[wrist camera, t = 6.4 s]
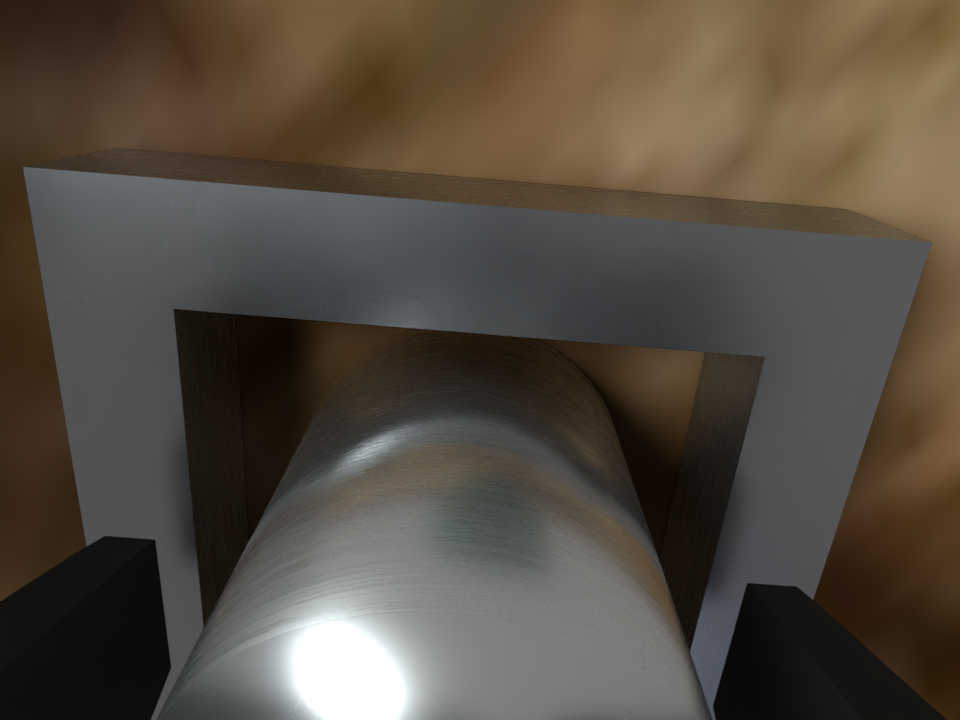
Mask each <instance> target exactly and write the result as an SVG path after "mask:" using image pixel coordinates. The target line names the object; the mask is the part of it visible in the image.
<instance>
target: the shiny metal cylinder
mask: <svg viewBox="0 0 960 720" xmlns="http://www.w3.org/2000/svg"><path fill="white" fill-rule="evenodd" d="M156 720H713V719H712V716H711V713H710V710H709V707H708V704H707V701H706V698H705V695H704V692H703V689H702V686H701V683H700V680H699V677H698V674H697V671H696V668H695V665H694V662H693V659H692V657H691V654H690V651H689V648H688V645H687V642H686V639H685V636H684V633H683V630H682V627H681V624H680V621H679V618H678V615H677V612H676V609H675V606H674V603H673V600H672V597H671V594H670V591H669V588H668V585H667V582H666V579H665V576H664V573H663V570H662V567H661V564H660V561H659V558H658V555H657V553H656V550H655V547H654V544H653V541H652V538H651V535H650V532H649V529H648V526H647V523H646V520H645V517H644V514H643V511H642V508H641V505H640V502H639V499H638V496H637V493H636V490H635V487H634V484H633V481H632V478H631V475H630V472H629V469H628V466H627V463H626V460H625V457H624V454H623V451H622V448H621V446H620V443H619V440H618V437H617V434H616V431H615V428H614V425H613V422H612V419H611V416H610V413H609V411H608V409H607V407H606V405H605V403H604V401H603V399H602V397H601V395H600V394H599V392H598V391H597V390H596V388H595V387H594V385H593V384H592V383H591V381H590V380H589V379H588V378H587V377H586V376H585V375H584V374H583V372H582V371H581V370H580V369H579V368H578V367H577V366H576V365H575V364H573V363H572V362H571V361H570V360H568V359H567V358H566V357H565V356H563V355H562V354H561V353H560V352H558V351H556V350H555V349H553V348H551V347H550V346H548V345H547V344H545V343H543V342H542V341H539V340H537V339H535V338H528V337H515V336H503V335H490V334H478V333H466V332H453V331H441V330H429V329H416V328H414V329H411V330H409V331H406V332H403V333H400V334H397V335H394V336H392V337H390V338H388V339H386V340H384V341H382V342H380V343H378V344H376V345H375V346H373V347H372V348H370V349H369V350H367V351H366V352H364V353H363V354H362V355H360V356H359V357H357V358H356V359H355V360H354V361H353V362H352V363H351V364H350V365H349V366H348V367H347V368H345V369H344V370H343V372H342V373H341V374H340V375H339V377H338V378H337V379H336V380H335V381H334V383H333V384H332V385H331V387H330V389H329V390H328V392H327V394H326V395H325V397H324V399H323V400H322V402H321V404H320V406H319V408H318V410H317V412H316V414H315V415H314V417H313V419H312V421H311V423H310V425H309V427H308V429H307V431H306V433H305V435H304V437H303V439H302V440H301V442H300V444H299V446H298V448H297V450H296V452H295V454H294V456H293V458H292V460H291V462H290V463H289V465H288V467H287V469H286V471H285V473H284V475H283V477H282V479H281V481H280V483H279V485H278V487H277V488H276V490H275V492H274V494H273V496H272V498H271V500H270V502H269V504H268V506H267V508H266V510H265V511H264V513H263V515H262V517H261V519H260V521H259V523H258V525H257V527H256V529H255V531H254V533H253V535H252V536H251V538H250V540H249V542H248V544H247V546H246V548H245V550H244V552H243V554H242V556H241V558H240V559H239V561H238V563H237V565H236V567H235V569H234V571H233V573H232V575H231V577H230V579H229V581H228V583H227V584H226V586H225V588H224V590H223V592H222V594H221V596H220V598H219V600H218V602H217V604H216V606H215V607H214V609H213V611H212V613H211V615H210V617H209V619H208V621H207V623H206V625H205V627H204V629H203V631H202V632H201V634H200V636H199V638H198V640H197V642H196V644H195V646H194V648H193V650H192V652H191V654H190V655H189V657H188V659H187V661H186V663H185V665H184V667H183V669H182V671H181V673H180V675H179V677H178V679H177V680H176V682H175V684H174V686H173V688H172V690H171V692H170V694H169V696H168V698H167V700H166V702H165V703H164V705H163V707H162V709H161V711H160V713H159V715H158V717H157V719H156Z"/></svg>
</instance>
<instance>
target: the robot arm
mask: <svg viewBox="0 0 960 720" xmlns="http://www.w3.org/2000/svg"><path fill="white" fill-rule="evenodd" d="M170 670H171V661H170V653H169V645H168V637H167V629H166V621H165V613H164V605H163V597H162V589H161V581H160V573H159V565H158V557H157V549H156V541H155V539H141V538H128V537H114V536H104V537H102V538H100V539H99V540H97V541H95V542H94V543H92V544H90V545H88V546H87V547H85V548H83V549H82V550H80V551H79V552H77V553H75V554H74V555H72V556H71V557H69V558H67V559H66V560H64V561H63V562H61V563H60V564H58V565H56V566H55V567H53V568H52V569H50V570H49V571H47V572H46V573H44V574H42V575H41V576H39V577H38V578H36V579H35V580H33V581H32V582H30V583H29V584H27V585H25V586H24V587H22V588H21V589H19V590H18V591H16V592H15V593H13V594H12V595H10V596H9V597H7V598H5V599H4V600H2V601H1V602H0V720H151V718H152V716H153V713H154V711H155V708H156V706H157V703H158V700H159V698H160V695H161V693H162V690H163V688H164V685H165V683H166V680H167V677H168V675H169V672H170ZM713 709H714V714H715V719H716V720H946V719H945V718H944V717H943V716H942V715H941V714H940V713H939V712H937V711H936V710H935V709H934V708H933V707H932V706H931V705H929V704H928V703H927V702H926V701H925V700H924V699H923V698H922V697H920V696H919V695H918V694H917V693H916V692H915V691H914V690H913V689H912V688H910V687H909V686H908V685H907V684H906V683H905V682H904V681H903V680H902V679H900V678H899V677H898V676H897V675H896V674H895V673H894V672H893V671H892V670H890V669H889V668H888V667H887V666H886V665H885V664H884V663H883V662H882V661H881V660H879V659H878V658H877V657H876V656H875V655H874V654H873V653H872V652H871V651H869V650H868V649H867V648H866V647H865V646H864V645H863V644H862V643H861V642H860V641H858V640H857V639H856V638H855V637H854V636H853V635H852V634H851V633H850V632H849V631H847V630H846V629H845V628H844V627H843V626H842V625H841V624H840V623H839V622H837V621H836V620H835V619H834V618H833V617H832V616H831V615H830V614H828V613H827V612H826V611H825V610H824V609H823V608H822V607H821V606H819V605H818V604H817V603H816V602H815V601H814V600H812V599H811V598H810V597H809V596H808V595H806V594H805V593H804V592H803V591H802V590H800V589H799V588H798V587H796V586H782V585H769V584H755V583H747V585H746V589H745V592H744V596H743V600H742V603H741V607H740V610H739V614H738V618H737V621H736V625H735V628H734V632H733V635H732V639H731V643H730V646H729V650H728V653H727V657H726V661H725V664H724V668H723V671H722V675H721V679H720V682H719V686H718V689H717V693H716V697H715V700H714V704H713Z"/></svg>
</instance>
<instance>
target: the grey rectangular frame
mask: <svg viewBox="0 0 960 720" xmlns="http://www.w3.org/2000/svg"><path fill="white" fill-rule="evenodd" d="M23 171H24V177H25V183H26V189H27V195H28V201H29V207H30V212H31V218H32V224H33V230H34V236H35V242H36V248H37V254H38V260H39V266H40V272H41V278H42V284H43V290H44V296H45V302H46V308H47V314H48V320H49V326H50V332H51V338H52V344H53V350H54V356H55V362H56V367H57V373H58V379H59V385H60V391H61V397H62V403H63V409H64V415H65V421H66V427H67V433H68V439H69V445H70V451H71V457H72V463H73V469H74V475H75V481H76V487H77V493H78V499H79V505H80V511H81V516H82V522H83V528H84V534H85V540H86V546H88V545H90V544H92V543H94V542H95V541H97V540H99V539H100V538H102V537H104V536H114V537H128V538H141V539H155V541H156V549H157V557H158V565H159V573H160V581H161V589H162V597H163V605H164V613H165V621H166V629H167V637H168V645H169V653H170V661H171V670H170V672H169V675H168V677H167V680H166V683H165V685H164V688H163V690H162V693H161V695H160V698H159V700H158V703H157V706H156V708H155V711H154V713H153V716H152V718H151V720H156V719H157V717H158V715H159V713H160V711H161V709H162V707H163V705H164V703H165V702H166V700H167V698H168V696H169V694H170V692H171V690H172V688H173V686H174V684H175V682H176V680H177V679H178V677H179V675H180V673H181V671H182V669H183V667H184V665H185V663H186V661H187V659H188V657H189V655H190V654H191V652H192V650H193V648H194V646H195V644H196V642H197V640H198V638H199V636H200V634H201V632H202V631H203V629H204V627H205V625H206V623H207V621H208V619H209V617H210V615H211V613H212V611H213V609H214V607H215V606H216V604H217V602H218V600H219V598H220V596H221V594H222V592H223V590H224V588H225V586H226V584H227V583H228V581H229V579H230V577H231V575H232V573H233V571H234V569H235V567H236V565H237V563H238V561H239V559H240V558H241V556H242V554H243V552H244V550H245V548H246V546H247V544H248V542H249V536H248V519H247V502H246V485H245V468H244V451H243V434H242V417H241V400H240V383H239V366H238V349H237V331H236V314H243V315H255V316H267V317H280V318H292V319H305V320H317V321H329V322H342V323H354V324H367V325H379V326H391V327H404V328H416V329H429V330H441V331H453V332H466V333H478V334H490V335H503V336H515V337H528V338H540V339H552V340H565V341H577V342H590V343H602V344H614V345H627V346H639V347H652V348H664V349H676V350H689V351H701V352H705V356H704V361H703V365H702V370H701V375H700V379H699V384H698V388H697V393H696V397H695V402H694V406H693V411H692V416H691V420H690V425H689V429H688V434H687V438H686V443H685V447H684V452H683V457H682V461H681V466H680V470H679V475H678V479H677V484H676V489H675V493H674V498H673V502H672V507H671V511H670V516H669V520H668V525H667V530H666V534H665V539H664V543H663V548H662V552H661V557H660V564H661V567H662V570H663V573H664V576H665V579H666V582H667V585H668V588H669V591H670V594H671V597H672V600H673V603H674V606H675V609H676V612H677V615H678V618H679V621H680V624H681V627H682V630H683V633H684V636H685V639H686V642H687V645H688V648H689V651H690V654H691V657H692V659H693V662H694V665H695V668H696V671H697V674H698V677H699V680H700V683H701V686H702V689H703V692H704V695H705V698H706V701H707V704H708V707H709V710H710V713H711V716H712V719H713V720H716V719H715V714H714V709H713V704H714V700H715V697H716V693H717V689H718V686H719V682H720V679H721V675H722V671H723V668H724V664H725V661H726V657H727V653H728V650H729V646H730V643H731V639H732V635H733V632H734V628H735V625H736V621H737V618H738V614H739V610H740V607H741V603H742V600H743V596H744V592H745V589H746V585H747V583H755V584H769V585H782V586H796V587H798V588H799V589H800V590H802V591H803V592H804V593H805V594H806V595H808V596H809V597H810V598H811V599H812V600H813V599H814V596H815V593H816V590H817V587H818V584H819V581H820V578H821V575H822V572H823V569H824V566H825V563H826V560H827V557H828V554H829V551H830V548H831V545H832V542H833V539H834V536H835V533H836V530H837V527H838V524H839V521H840V518H841V515H842V512H843V509H844V506H845V503H846V500H847V496H848V493H849V490H850V487H851V484H852V481H853V478H854V475H855V472H856V469H857V466H858V463H859V460H860V457H861V454H862V451H863V448H864V445H865V442H866V439H867V436H868V433H869V430H870V427H871V424H872V421H873V418H874V415H875V412H876V409H877V406H878V403H879V400H880V397H881V394H882V391H883V388H884V385H885V382H886V379H887V376H888V373H889V370H890V367H891V364H892V361H893V358H894V355H895V352H896V349H897V346H898V343H899V340H900V337H901V334H902V331H903V328H904V325H905V322H906V319H907V316H908V313H909V310H910V307H911V304H912V301H913V298H914V295H915V292H916V289H917V286H918V283H919V280H920V277H921V274H922V271H923V268H924V265H925V262H926V259H927V256H928V253H929V250H930V247H931V244H932V242H929V241H927V240H924V239H922V238H919V237H917V236H914V235H911V234H909V233H906V232H904V231H901V230H899V229H896V228H894V227H891V226H888V225H886V224H883V223H881V222H878V221H876V220H873V219H871V218H868V217H865V216H863V215H860V214H858V213H855V212H853V211H850V210H848V209H837V208H825V207H813V206H801V205H789V204H777V203H765V202H753V201H741V200H729V199H717V198H705V197H693V196H681V195H669V194H658V193H646V192H634V191H622V190H610V189H598V188H586V187H574V186H562V185H550V184H538V183H526V182H514V181H502V180H490V179H478V178H466V177H454V176H442V175H431V174H419V173H407V172H395V171H383V170H371V169H359V168H347V167H335V166H323V165H311V164H299V163H287V162H275V161H263V160H251V159H239V158H227V157H215V156H203V155H192V154H180V153H168V152H156V151H144V150H132V149H120V148H113V149H108V150H103V151H98V152H94V153H89V154H84V155H79V156H74V157H69V158H64V159H59V160H54V161H49V162H44V163H39V164H34V165H30V166H25V167H23Z"/></svg>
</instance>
